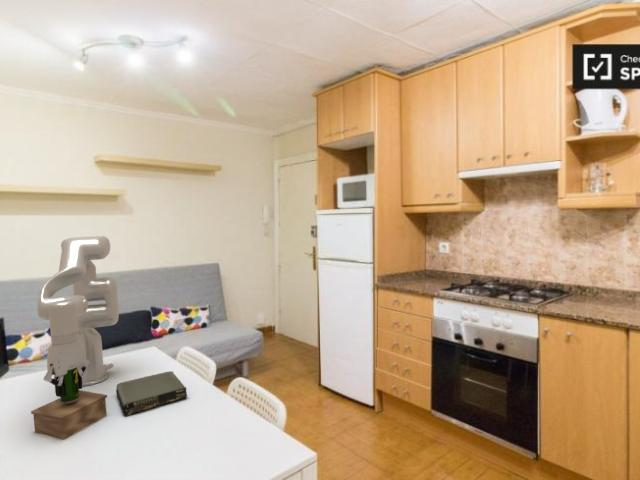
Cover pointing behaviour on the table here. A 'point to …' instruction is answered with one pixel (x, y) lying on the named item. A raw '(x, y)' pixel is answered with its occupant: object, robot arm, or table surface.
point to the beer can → (70, 386)
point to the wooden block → (69, 415)
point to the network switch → (149, 392)
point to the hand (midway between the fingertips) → (69, 391)
